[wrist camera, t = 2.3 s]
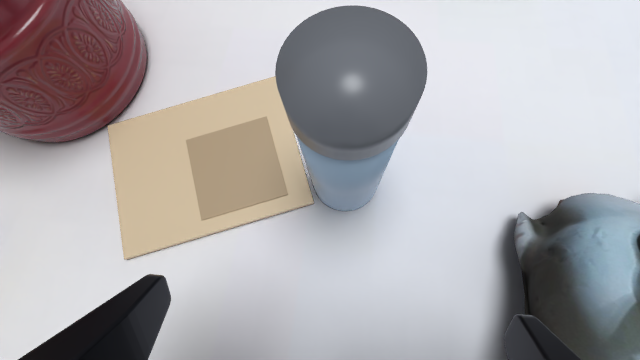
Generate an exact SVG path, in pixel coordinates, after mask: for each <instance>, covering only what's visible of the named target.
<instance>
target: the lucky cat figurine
mask: <svg viewBox="0 0 640 360" xmlns="http://www.w3.org/2000/svg"><path fill="white" fill-rule="evenodd" d="M514 241H515V248H516V252H517V255H518V258H519V262H520V266H521V270H522V277H523V285H524V293H525V315H532V316H534V317H536V318H537V319H539V320H540V321H541V322H542V323H543V324H544V325H545V326H546V327H547V328H548V329H549V330H550V331H551V332H552V333H554V334H555V335H556V336H557V337H558V338H559V339H560V340H561V341H562V342H563V343H564V344H565V345H566V346H567V347H569V348H570V349H571V350H572V351H573V352H574V353H575V354H576V355H577V356H578V357H579V358H580V359H581V360H640V204H638V203H635V202H632V201H630V200H626V199H623V198H619V197H616V196H613V195H609V194H595V193H587V194H580V195H576V196H571V197H569V198H567V199H565V200H560V201H559V204H558V206H557V208H556V209H555V210H554V211H553V212H552V213H551V214H550V215H547V216H544V217H542V218H540V219H537V220H532V219H530V218H529V217H528V216H527V215H526V214H524V213H523V212H521V213H520V214H518V219H517V223H516V227H515V231H514Z"/></svg>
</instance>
